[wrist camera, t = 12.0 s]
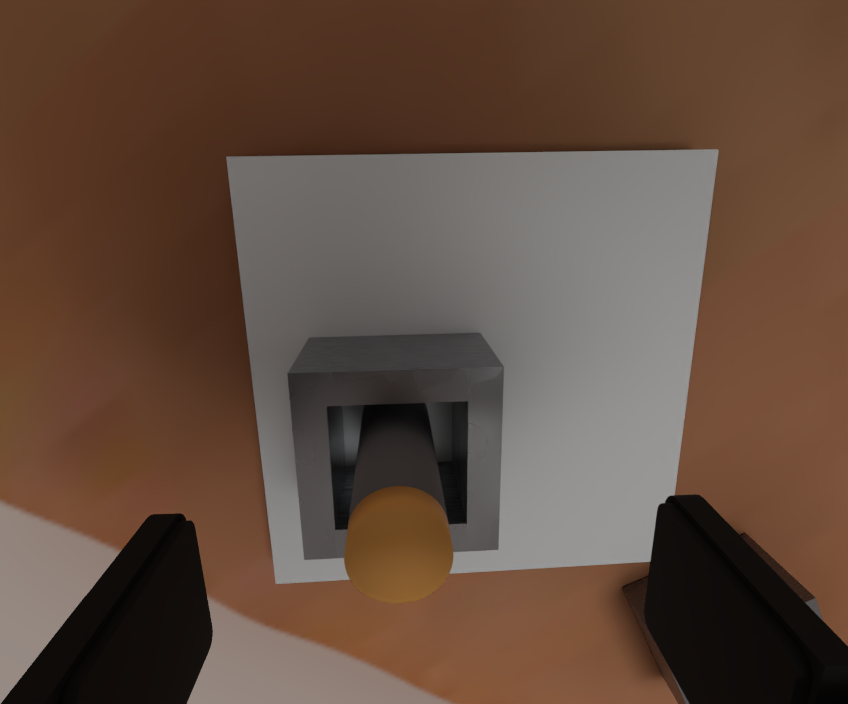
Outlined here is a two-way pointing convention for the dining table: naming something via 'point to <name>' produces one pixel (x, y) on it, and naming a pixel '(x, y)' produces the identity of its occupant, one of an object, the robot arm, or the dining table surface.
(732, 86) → the dining table surface
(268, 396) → the keeper
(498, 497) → the link
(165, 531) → the robot arm
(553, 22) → the dining table surface
